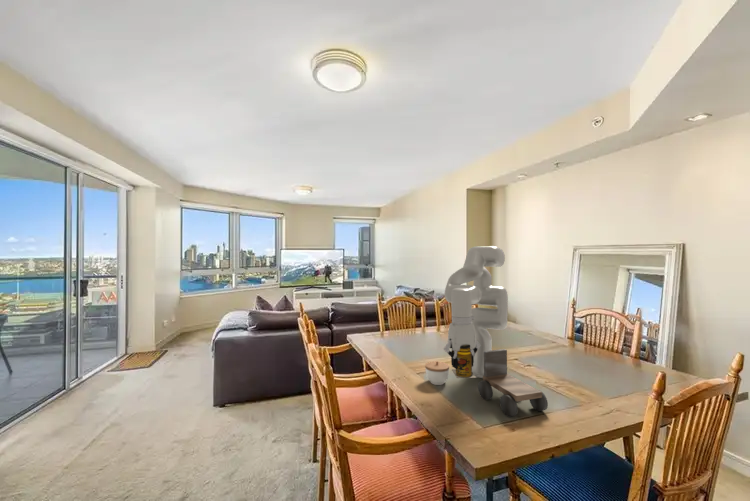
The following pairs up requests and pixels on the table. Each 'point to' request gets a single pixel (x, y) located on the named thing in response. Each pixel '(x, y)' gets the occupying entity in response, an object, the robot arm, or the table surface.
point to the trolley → (507, 385)
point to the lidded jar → (437, 372)
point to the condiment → (464, 363)
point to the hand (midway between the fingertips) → (462, 366)
